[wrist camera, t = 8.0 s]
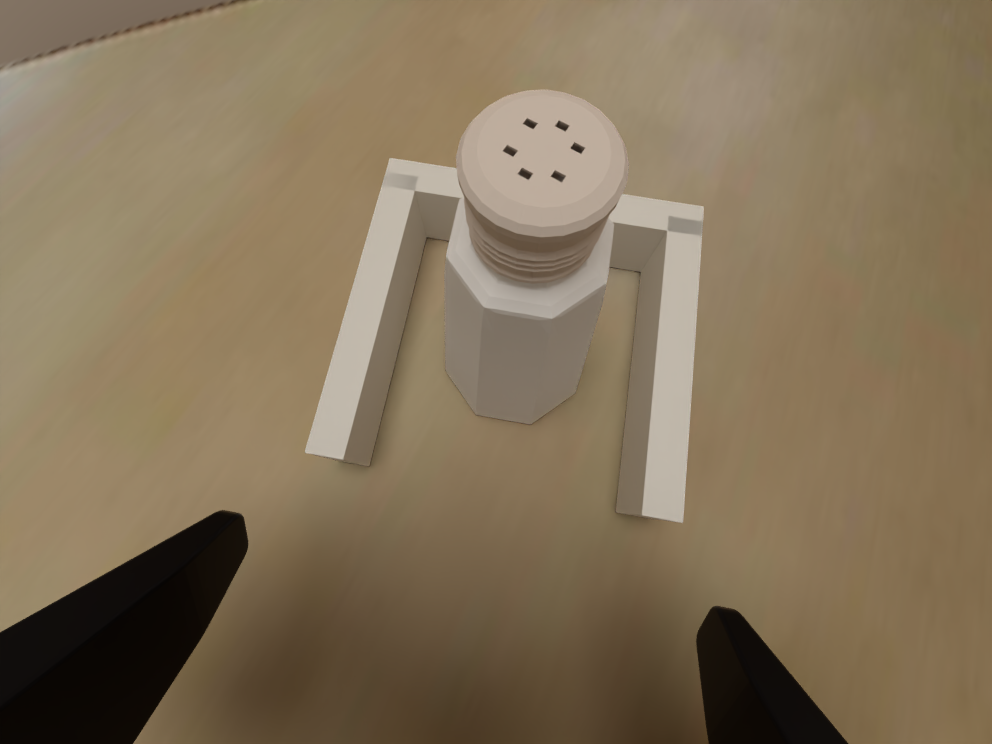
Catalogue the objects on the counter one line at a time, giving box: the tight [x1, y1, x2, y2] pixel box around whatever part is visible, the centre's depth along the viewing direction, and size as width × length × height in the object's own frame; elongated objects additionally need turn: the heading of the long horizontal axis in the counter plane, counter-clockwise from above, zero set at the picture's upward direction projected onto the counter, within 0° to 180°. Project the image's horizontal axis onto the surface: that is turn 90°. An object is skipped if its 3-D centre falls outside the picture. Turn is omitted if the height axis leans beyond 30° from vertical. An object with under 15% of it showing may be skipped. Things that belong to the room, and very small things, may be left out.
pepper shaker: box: [444, 90, 629, 425], centre depth 12 cm, size 5×5×11 cm
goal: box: [305, 158, 704, 523], centre depth 16 cm, size 11×11×3 cm
